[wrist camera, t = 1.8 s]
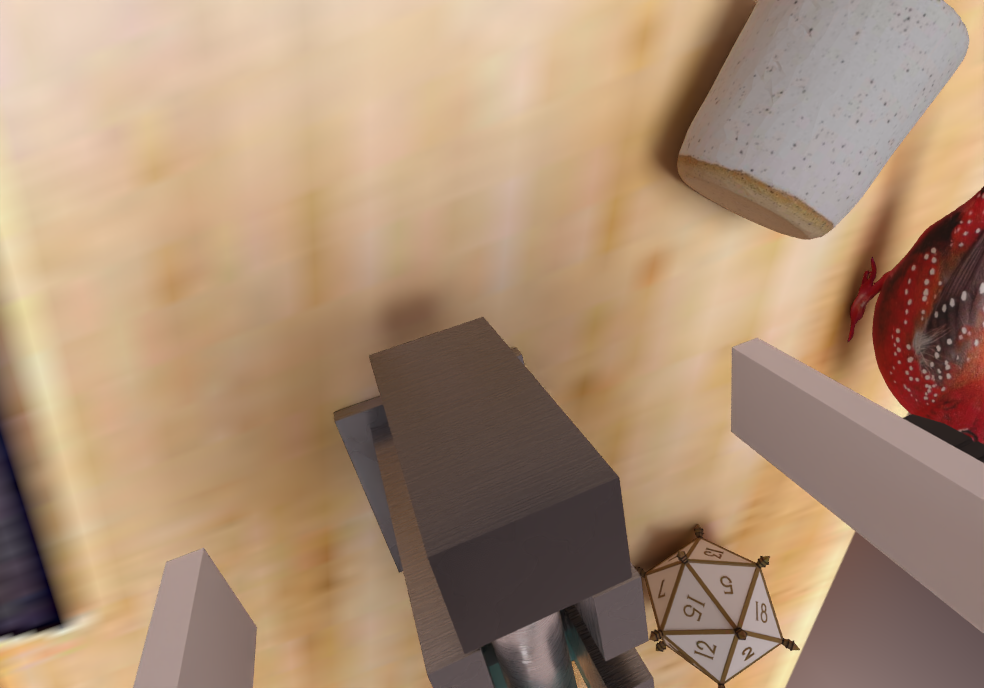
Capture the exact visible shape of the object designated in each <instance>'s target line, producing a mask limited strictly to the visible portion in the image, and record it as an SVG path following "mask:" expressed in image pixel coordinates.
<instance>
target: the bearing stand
mask: <svg viewBox="0 0 984 688" xmlns="http://www.w3.org/2000/svg"><path fill="white" fill-rule="evenodd" d="M511 350H512V352H513V353H514V354H515V355H516V356H517V357H518V359H519V360H520V361H521V362H522V363H523V365H524V362H523V357H522V354H521V353H520V352H519V351H518V349H517V348H514V349H511ZM334 420H335V423H336V426H337V428H338V430H339V433H340V435H341V437H342V440H343V442H344V444H345V447H346V449H347V451H348V454H349V456H350V458H351V461H352V463H353V465H354V468H355V470H356V473H357V475H358V477H359V480H360V482H361V484H362V487H363V489H364V491H365V494H366V496H367V498H368V501H369V503H370V505H371V508H372V510H373V512H374V515H375V517H376V519H377V522H378V524H379V526H380V529H381V531H382V533H383V536H384V538H385V540H386V543H387V545H388V547H389V550H390V552H391V554H392V557H393V559H394V561H395V564H396V566H397V568H398V571H399V572H402V571H403V572H404V576H405V581H406V585H407V589H408V594H409V598H410V602H411V606H412V611H413V615H414V619H415V624H416V628H417V632H418V637H419V641H420V645H421V650H422V654H423V658H424V662H425V667H426V671H427V675H428V677H429V680H430V682H431V684H432V686H433V688H496V687H495V684H494V681H493V678H492V675H491V672H490V669H489V667H490V666H492V665H494V664H496V663H498V660H497V657H496V654H495V651H494V648H493V645H492V642H491V643H488V644H486V645H484V646H482V647H480V648H478V649H475V650H473V651H471V652H469V653H467V654H464V651H463V649H462V646H461V644H460V641H459V638H458V636H457V633H456V631H455V628H454V625H453V623H452V620H451V618H450V615H449V612H448V610H447V607H446V605H445V602H444V599H443V597H442V594H441V591H440V589H439V586H438V584H437V581H436V578H435V576H434V573H433V571H432V568H431V565H430V563H429V560H428V558H427V554H426V551H425V547H424V544H423V540H422V537H421V534H420V530H419V527H418V523H417V520H416V516H415V513H414V509H413V506H412V503H411V499H410V496H409V492H408V489H407V485H406V482H405V479H404V475H403V472H402V468H401V465H400V461H399V458H398V454H397V451H396V448H395V444H394V441H393V437H392V434H391V430H390V427H389V423H388V420H387V417H386V413H385V410H384V406H383V403H382V399H381V396H379V397H376V398H373V399H370V400H367V401H365V402H362V403H359V404H356V405H353V406H350V407H348V408H345V409H342V410H339V411H336V412H334ZM630 564H631V572H632V578H630V579H628V580H626V581H624V582H621V583H619V584H617V585H615V586H613V587H610V588H608V589H606V590H604V591H602V592H600V593H597V594H595V595H593V596H591V597H589V598H587V599H584V600H582V601H580V602H578V603H576V604H573V605H571V606H569V607H567V608H565V609H563V610H560V611H559V612H560V616H561V621H562V625H563V629H564V633H565V635H566V637H567V639H568V641H569V643H570V645H571V647H572V649H573V651H574V653H575V655H576V657H577V659H578V661H579V663H580V665H581V667H582V669H583V671H584V673H585V675H586V677H587V679H588V681H589V683H590V685H591V687H592V688H654V682H653V677H652V675H651V674H650V672H649V670H648V669H647V667H646V666H645V664H644V662H643V661H642V659H641V657H640V656H639V654H638V653H637V651H636V649H635V648H634V647H636V646H639V645H641V644H643V643H645V642H647V641H649V640H648V631H647V623H646V615H645V606H644V598H643V589H642V581H641V576H640V575H639V573H638V572H637V570H636V569H635V568H634V566H633V565H632V563H631V562H630Z"/></svg>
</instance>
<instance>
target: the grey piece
mask: <svg viewBox="0 0 984 688" xmlns="http://www.w3.org/2000/svg"><path fill="white" fill-rule="evenodd" d="M369 358H370V362H371V365H372V368H373V372H374V375H375V379H376V382H377V386H378V389H379V392H380V396H381V399H382V403H383V406H384V410H385V413H386V417H387V420H388V423H389V427H390V430H391V434H392V437H393V441H394V444H395V448H396V451H397V454H398V458H399V461H400V465H401V468H402V472H403V475H404V479H405V482H406V485H407V489H408V492H409V496H410V499H411V503H412V506H413V509H414V513H415V516H416V520H417V523H418V527H419V530H420V534H421V537H422V540H423V544H424V547H425V551H426V554H427V558H428V560H429V563H430V565H431V568H432V571H433V573H434V576H435V578H436V581H437V584H438V586H439V589H440V591H441V594H442V597H443V599H444V602H445V605H446V607H447V610H448V612H449V615H450V618H451V620H452V623H453V625H454V628H455V631H456V633H457V636H458V638H459V641H460V644H461V646H462V649H463V651H464V654H467V653H469V652H471V651H473V650H475V649H478V648H480V647H482V646H484V645H486V644H488V643H491V642H492V645H493V648H494V651H495V654H496V657H497V660H498V663H499V665H500V668H501V671H502V674H503V677H504V680H505V683H506V686H507V688H577V685H576V680H575V676H574V672H573V667H572V663H571V659H570V655H569V650H568V646H567V642H566V638H565V633H564V629H563V625H562V621H561V616H560V612H559V611H560V610H563V609H565V608H567V607H569V606H571V605H573V604H576V603H578V602H580V601H582V600H584V599H587V598H589V597H591V596H593V595H595V594H597V593H600V592H602V591H604V590H606V589H608V588H610V587H613V586H615V585H617V584H619V583H621V582H624V581H626V580H628V579H630V578H632V572H631V564H630V557H629V549H628V541H627V534H626V526H625V518H624V511H623V503H622V495H621V488H620V480H619V477H618V475H617V474H616V473H615V472H614V471H613V470H612V468H611V467H610V466H609V465H608V464H607V463H606V461H605V460H604V459H603V458H602V457H601V455H600V454H599V453H598V452H597V451H596V450H595V448H594V447H593V446H592V445H591V444H590V442H589V441H588V440H587V439H586V438H585V437H584V435H583V434H582V433H581V432H580V431H579V429H578V428H577V427H576V426H575V425H574V424H573V422H572V421H571V420H570V419H569V418H568V416H567V415H566V414H565V413H564V412H563V411H562V409H561V408H560V407H559V406H558V405H557V403H556V402H555V401H554V400H553V399H552V398H551V396H550V395H549V394H548V393H547V392H546V390H545V389H544V388H543V387H542V386H541V385H540V383H539V382H538V381H537V380H536V379H535V377H534V376H533V375H532V374H531V373H530V372H529V370H528V369H527V368H526V367H525V366H524V365H523V363H522V362H521V361H520V360H519V359H518V357H517V356H516V355H515V354H514V353H513V352H512V350H511V349H510V348H509V347H508V346H507V344H506V343H505V342H504V341H503V340H502V339H501V337H500V336H499V335H498V334H497V333H496V331H495V330H494V329H493V328H492V327H491V326H490V324H489V323H488V322H487V321H486V320H485V318H484V317H481V318H478V319H475V320H472V321H469V322H466V323H464V324H461V325H458V326H455V327H452V328H449V329H446V330H443V331H440V332H437V333H434V334H431V335H428V336H425V337H422V338H419V339H416V340H413V341H410V342H407V343H404V344H401V345H399V346H396V347H393V348H390V349H387V350H384V351H381V352H378V353H375V354H372V355H369Z"/></svg>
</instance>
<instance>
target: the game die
mask: <svg viewBox="0 0 984 688" xmlns="http://www.w3.org/2000/svg"><path fill="white" fill-rule="evenodd" d="M703 534H704V533H703V529H702V528H701V527H700V526H699V525H698V524H697V526H696V528H695V535H696V536H697V538H696V539H695V540H693V541H692V542H690V543H689V544H687V545H686V546H684V547H683V548H681V549H680V550H678V551H677V552H675V553H674V554H673V555H671V556H670V557H668V558H667V559H665V560H664V561H662V562H661V563H659V564H658V565H656V566H655V567H653V568H652V569H650V570H649V571H647V572H645V571H644V570H643V569H641V568H640V567H638V568H635V569H636V570H637V572H638V573H639V575H640V576H642V577H644V578H645V581H646V585H647V589H648V592H649V596H650V600H651V604H652V608H653V612H654V615H655V619H656V623H657V627H658V630H654V631H651V636H650V638H649V640H654V641H658V639H661V638H662V640H663V641H660V642H659V643H657V644H656V651H662V652H663V650H664V649H666V646H667V647H669V648H670V649H671V650H673V651H674V652H676V653H677V654H678V655H680V656H681V657H682V658H684V659H685V660H686V661H688V662H689V663H691V664H692V665H693V666H695V667H696V668H697V669H699V670H700V671H701V672H703V673H704V674H705V675H707V676H708V677H710V678H711V679H712V680H714V681H715V682H716V683H718V688H725V686H724V684H725V683H726V682H728V681H729V680H731V679H732V678H734V677H735V676H736V675H738V674H739V673H741V672H742V671H743V670H745V669H746V668H748V667H749V666H751V665H752V664H753V663H755V662H756V661H758V660H759V659H761V658H762V657H763V656H765V655H766V654H768V653H769V652H770V651H772V650H773V649H775V648H776V647H778V646H779V645H780V644H782V645H784V646H785V647H786V648H788V649H790V651H792V650H800V649H799V648H798V647H797V645H796V644H795V643H794V641H790V639H784V638H783V636H782V633H781V630H780V627H779V623H778V620H777V617H776V614H775V611H774V608H773V605H772V601H771V598H770V595H769V592H768V589H767V586H766V583H765V579H764V576H763V573H762V570H761V567H765V566H766V565H769V558H770V556H765V557H763V556H760V557H761V558H760V559H758V562H757V563H755V562H753V561H751V560H748V559H746V558H744V557H742V556H740V555H738V554H736V553H733V552H731V551H729V550H727V549H725V548H723V547H721V546H718V545H716V544H714V543H712V542H710V541H708V540H706V539H703V537H702V536H703Z"/></svg>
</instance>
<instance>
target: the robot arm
mask: <svg viewBox="0 0 984 688" xmlns="http://www.w3.org/2000/svg"><path fill="white" fill-rule="evenodd" d="M731 432H732V433H734V434H735V435H736V436H737V437H739V438H740V439H741V440H742V441H744V442H745V443H746V444H747V445H749V446H750V447H751V448H752V449H754V450H755V451H756V452H757V453H759V454H760V455H761V456H762V457H764V458H765V459H766V460H767V461H769V462H770V463H771V464H772V465H774V466H775V467H776V468H777V469H779V470H780V471H781V472H782V473H784V474H785V475H786V476H787V477H789V478H790V479H791V480H792V481H794V482H795V483H796V484H797V485H799V486H800V487H801V488H802V489H804V490H805V491H806V492H807V493H809V494H810V495H811V496H812V497H814V498H815V499H816V500H817V501H819V502H820V503H821V504H822V505H824V506H825V507H826V508H827V509H829V510H830V511H831V512H832V513H834V514H835V515H836V516H837V517H839V518H840V519H841V520H842V521H844V522H845V523H846V524H847V525H849V526H850V527H851V528H852V529H854V530H855V531H856V532H857V533H859V534H860V535H861V536H862V537H864V538H865V539H866V540H867V541H869V542H870V543H871V544H872V545H874V546H875V547H876V548H877V549H879V550H880V551H881V552H882V553H884V554H885V555H886V556H887V557H889V558H890V559H891V560H892V561H894V562H895V563H896V564H897V565H899V566H900V567H901V568H902V569H904V570H905V571H906V572H907V573H909V574H910V575H911V576H912V577H914V578H915V579H916V580H917V581H919V582H920V583H921V584H922V585H924V586H925V587H926V588H927V589H929V590H930V591H931V592H933V593H934V594H935V595H936V596H937V597H939V598H940V599H941V600H942V601H944V602H945V603H946V604H947V605H949V606H950V607H951V608H952V609H954V610H955V611H956V612H957V613H959V614H960V615H961V616H962V617H964V618H965V619H966V620H967V621H969V622H970V623H971V624H972V625H974V626H975V627H976V628H977V629H979V630H980V631H981V632H982V633H984V444H982V443H980V442H979V441H977V442H974V441H973V440H972V438H971V437H969V436H967V435H965V434H963V433H961V432H960V431H958V430H956V429H954V428H952V427H950V426H948V425H946V424H944V423H941V422H938V421H934V420H931V419H928V418H924V417H921V416H918V415H914V414H911V415H909V416H907V417H904V418H901V417H900V416H898V415H896V414H894V413H892V412H891V411H889V410H887V409H885V408H883V407H882V406H880V405H878V404H876V403H874V402H872V401H871V400H869V399H867V398H865V397H863V396H862V395H860V394H858V393H856V392H854V391H853V390H851V389H849V388H847V387H845V386H844V385H842V384H840V383H838V382H836V381H835V380H833V379H831V378H829V377H827V376H826V375H824V374H822V373H820V372H818V371H816V370H815V369H813V368H811V367H809V366H807V365H806V364H804V363H802V362H800V361H798V360H797V359H795V358H793V357H791V356H789V355H788V354H786V353H784V352H782V351H780V350H779V349H777V348H775V347H773V346H771V345H770V344H768V343H766V342H764V341H762V340H761V339H759V338H755V339H753V340H750V341H747V342H745V343H742V344H739V345H737V346H734V347H732V397H731ZM256 631H257V627H256V625H255V624H254V622H253V621H252V619H251V618H250V616H249V615H248V613H247V612H246V610H245V609H244V607H243V606H242V604H241V603H240V601H239V600H238V598H237V597H236V595H235V594H234V592H233V591H232V589H231V588H230V586H229V585H228V583H227V582H226V580H225V579H224V577H223V576H222V574H221V573H220V571H219V570H218V568H217V567H216V565H215V564H214V562H213V561H212V559H211V558H210V556H209V555H208V553H207V552H206V550H205V549H204V548H202V549H199V550H197V551H194V552H191V553H189V554H186V555H184V556H181V557H178V558H176V559H173V560H170V561H168V562H166V565H165V568H164V572H163V576H162V580H161V584H160V587H159V591H158V595H157V599H156V603H155V606H154V610H153V614H152V618H151V622H150V625H149V629H148V633H147V637H146V641H145V645H144V648H143V652H142V656H141V660H140V664H139V667H138V671H137V675H136V679H135V683H134V686H133V688H253V677H254V662H255V646H256Z"/></svg>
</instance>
